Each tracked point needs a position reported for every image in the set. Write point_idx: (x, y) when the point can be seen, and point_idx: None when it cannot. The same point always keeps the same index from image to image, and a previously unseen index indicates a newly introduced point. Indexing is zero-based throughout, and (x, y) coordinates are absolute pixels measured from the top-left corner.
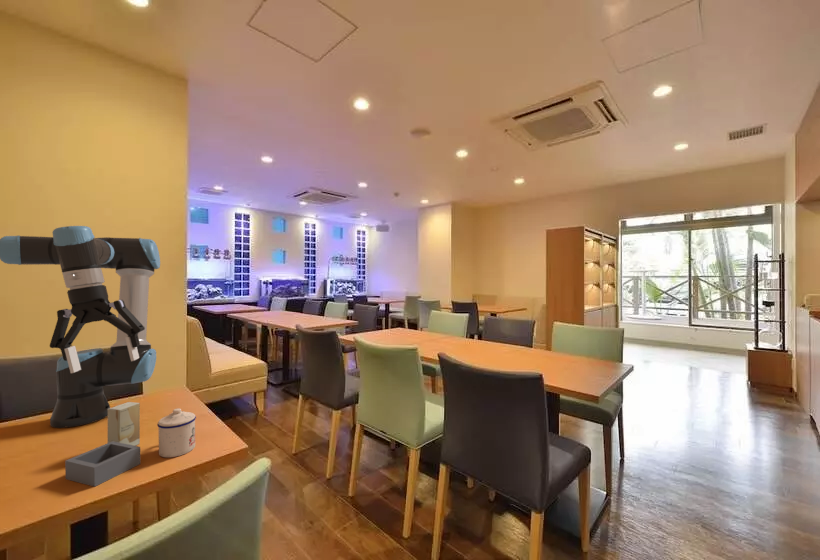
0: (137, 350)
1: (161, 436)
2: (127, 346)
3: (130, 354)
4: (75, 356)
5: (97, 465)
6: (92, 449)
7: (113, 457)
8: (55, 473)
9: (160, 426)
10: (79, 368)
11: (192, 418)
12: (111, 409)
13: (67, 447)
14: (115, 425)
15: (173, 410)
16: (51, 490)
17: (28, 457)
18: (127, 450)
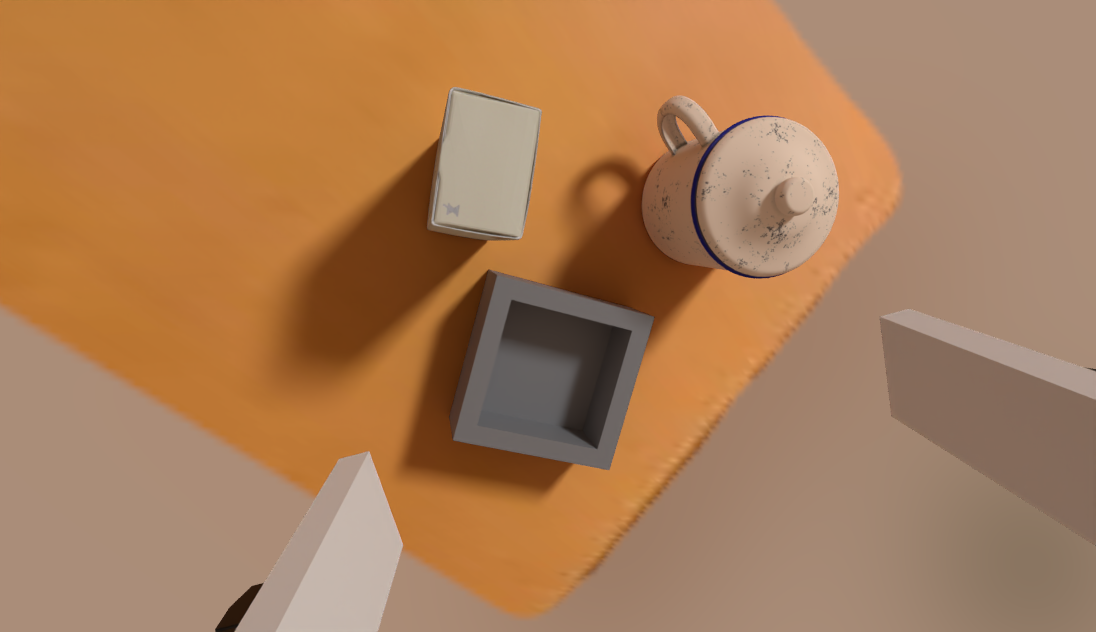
0: (975, 334)
1: (713, 265)
2: (1028, 502)
3: (951, 443)
4: (333, 584)
5: (606, 456)
6: (477, 350)
7: (617, 401)
8: (371, 388)
9: (735, 271)
10: (371, 478)
11: (838, 196)
12: (459, 227)
13: (180, 185)
14: (483, 237)
15: (789, 208)
16: (468, 476)
17: (91, 282)
18: (628, 348)
